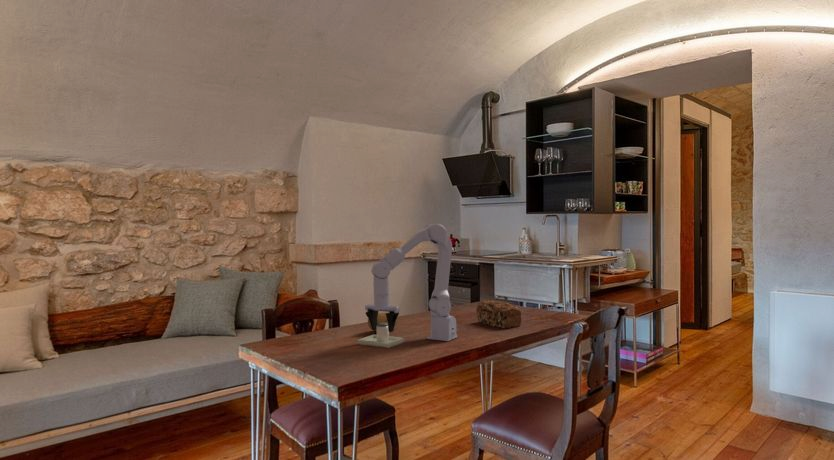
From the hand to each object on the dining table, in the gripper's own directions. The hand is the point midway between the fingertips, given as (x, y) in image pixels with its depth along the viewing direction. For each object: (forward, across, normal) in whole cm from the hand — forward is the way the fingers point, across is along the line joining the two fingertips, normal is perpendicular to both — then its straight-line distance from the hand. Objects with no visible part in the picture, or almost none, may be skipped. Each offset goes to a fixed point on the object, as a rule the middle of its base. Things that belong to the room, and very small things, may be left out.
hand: (382, 330), depth 186 cm
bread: (+6, +24, +51) cm, 57 cm away
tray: (+5, -1, 0) cm, 5 cm away
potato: (+5, -12, +17) cm, 21 cm away
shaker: (+4, 0, 0) cm, 4 cm away
